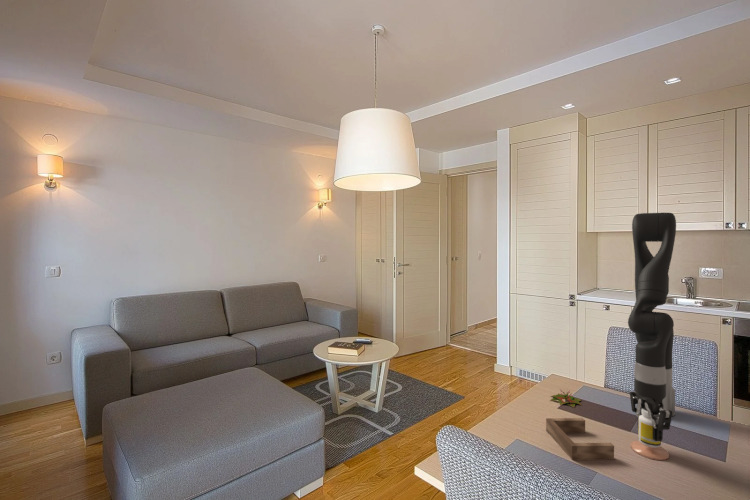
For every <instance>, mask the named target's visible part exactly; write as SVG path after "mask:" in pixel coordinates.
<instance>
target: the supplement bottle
mask: <svg viewBox="0 0 750 500" xmlns="http://www.w3.org/2000/svg"><path fill="white" fill-rule="evenodd" d="M641 413H642V415H640V416H639V419H638V418H637V423H638V425H637V430H638V433H637V435H638V436H637V438H638V439H637V441H639V442H641V443H642V444H644V445H646V446H649V447H654V448H657V447H660V446H661V447H662V441H655V440H653V424H652V421H651V419H649V416H648V412H647V411H646V410H644V409H643V408H642V411H641ZM653 416H654V417H657V416H658V415H653ZM656 423H657V424H658V420H656Z"/></svg>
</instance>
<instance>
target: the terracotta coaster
mask: <svg viewBox="0 0 750 500" xmlns="http://www.w3.org/2000/svg"><path fill="white" fill-rule="evenodd" d="M630 448H631V450H632V451H633V452H634V453H636V454H638V455H639V456H642V457H644V458H647V459H650V460H655V461H666V460H668V459H670V454H669V451H668V450H667V449H665V448H664V447H662V445H661V446H660V447H657V448H654V447H649V446H646V445H644V444H642V443H641V442H639V440H633V441H631V442H630Z"/></svg>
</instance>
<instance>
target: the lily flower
mask: <svg viewBox="0 0 750 500" xmlns="http://www.w3.org/2000/svg"><path fill="white" fill-rule="evenodd" d="M559 390H560V393H557V394H553V395H551V397H553V398H551V399H550V401H552V402H555V401H556V402H558V403H559V405H560V406H562V405H567V406H569V407H572V408H575V406H576V404H578V405H581V406H583V404H582V403H580V402H581V401H582V399H580V398H578V397H576V398H575V397H574V396H573V394H572V393H571V391H565V390H562V389H561V388H559ZM569 393H570V394H569ZM554 400H555V401H554ZM569 403H570V404H569Z"/></svg>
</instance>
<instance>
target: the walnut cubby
mask: <svg viewBox="0 0 750 500" xmlns="http://www.w3.org/2000/svg"><path fill="white" fill-rule="evenodd" d="M545 430H546V432H547V434H548V435H550V437H551V438H552V439H553V440H554V441H555V442H556V443H557V445H558V446H559V447H560V448H561V449H562V450H563V451H564V452H565V454H567V456H568V457H569V459H571V460H572V461H573V460H574V461H575V460H577V461H579V460H582V461H583V460H585V461H586V460H590V461H591V460H593V461H594V460H615V445H614V444H613V443H612V442H574V441H573V439H571V438H570V437H569V436H568V435H567V433H568V434H569V433H570V434H571V433H572V434H573V433H575V434H576V433H578V434H579V433H581V434H582V433H583V434H584V433H586V420H585V419H584V418H582V417H581V418H579V417H576V418H575V417H573V418H569V417H567V418H566V417H561V418H560V417H559V418H554V417H552V418H545Z"/></svg>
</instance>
